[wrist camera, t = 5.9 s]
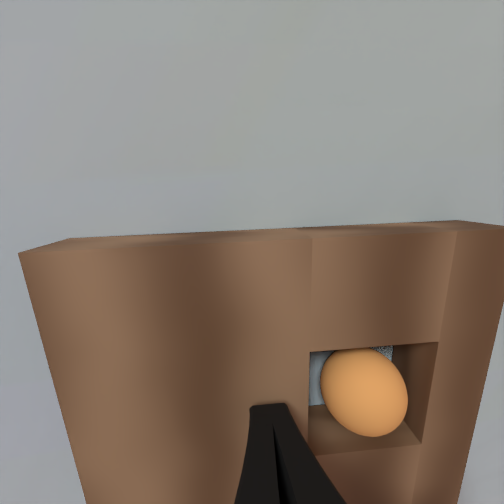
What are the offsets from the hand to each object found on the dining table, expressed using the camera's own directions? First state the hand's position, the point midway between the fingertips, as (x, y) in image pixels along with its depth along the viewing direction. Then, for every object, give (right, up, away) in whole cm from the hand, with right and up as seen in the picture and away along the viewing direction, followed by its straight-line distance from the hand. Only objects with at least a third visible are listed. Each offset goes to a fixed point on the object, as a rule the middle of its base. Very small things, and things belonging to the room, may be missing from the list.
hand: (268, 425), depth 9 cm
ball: (+4, +1, +2) cm, 4 cm away
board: (+1, +1, +3) cm, 3 cm away
